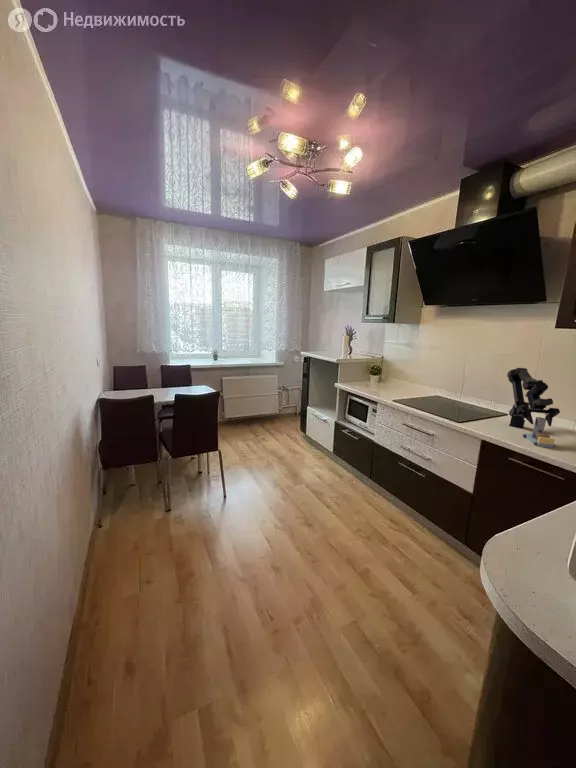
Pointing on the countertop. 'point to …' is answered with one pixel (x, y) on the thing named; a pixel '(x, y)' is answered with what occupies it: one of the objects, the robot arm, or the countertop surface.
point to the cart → (540, 441)
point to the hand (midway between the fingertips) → (541, 425)
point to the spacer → (538, 426)
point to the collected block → (542, 435)
